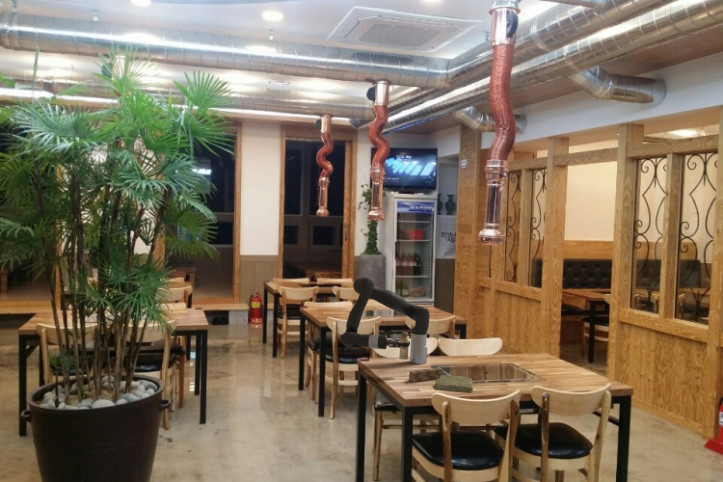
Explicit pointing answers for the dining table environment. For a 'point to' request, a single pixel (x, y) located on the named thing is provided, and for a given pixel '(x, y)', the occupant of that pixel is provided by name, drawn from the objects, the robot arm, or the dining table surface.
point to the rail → (425, 374)
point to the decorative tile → (454, 383)
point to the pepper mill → (404, 350)
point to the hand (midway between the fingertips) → (409, 344)
